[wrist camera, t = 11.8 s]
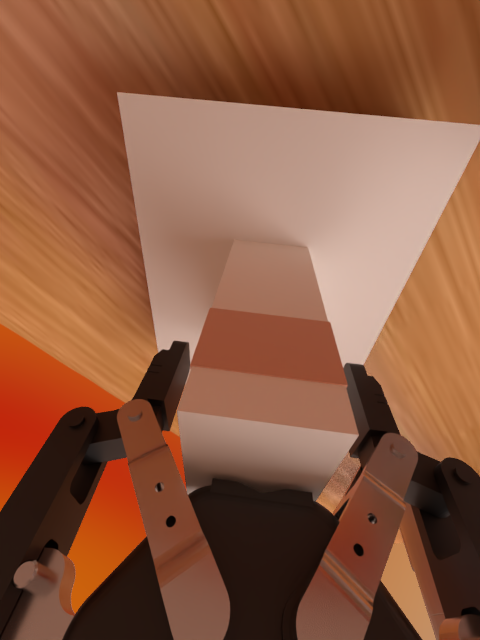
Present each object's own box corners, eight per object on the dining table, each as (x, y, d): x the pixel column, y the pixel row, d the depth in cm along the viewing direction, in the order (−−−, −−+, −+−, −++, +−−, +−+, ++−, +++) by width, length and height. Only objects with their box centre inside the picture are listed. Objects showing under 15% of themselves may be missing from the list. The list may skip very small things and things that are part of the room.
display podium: (332, 365, 28) (342, 405, 25) (178, 346, 29) (163, 381, 25) (433, 124, 16) (487, 125, 12) (154, 99, 16) (116, 92, 12)
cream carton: (309, 246, 16) (361, 434, 6) (285, 345, 21) (294, 534, 11) (233, 238, 16) (174, 409, 7) (227, 338, 21) (189, 518, 11)
